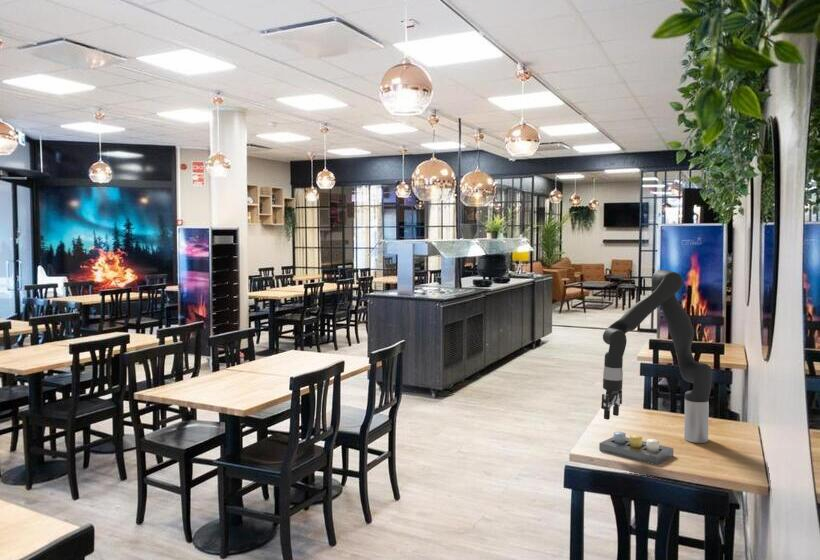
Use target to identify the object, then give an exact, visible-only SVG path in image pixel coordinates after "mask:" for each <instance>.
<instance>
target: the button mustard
mask: <svg viewBox="0 0 820 560" xmlns="http://www.w3.org/2000/svg"><path fill="white" fill-rule="evenodd" d="M629 438H630V447H633V448H638V449H640V448H642V441H643V437H642V436H641V435H638V434H637V435H636V434H633V435H630V436H629Z"/></svg>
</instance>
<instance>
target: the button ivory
mask: <svg viewBox="0 0 820 560" xmlns="http://www.w3.org/2000/svg"><path fill="white" fill-rule="evenodd" d="M646 442H647V450H646V451H650V452H654V453H657V452H659V445H660V440H659V439H655V438H654V439H653V438H647V439H646Z"/></svg>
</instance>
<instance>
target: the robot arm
mask: <svg viewBox="0 0 820 560" xmlns="http://www.w3.org/2000/svg"><path fill="white" fill-rule="evenodd" d="M683 281H684V280H683V277H682V275H681V274H680V273H679V272H675V271H671V270H667V269H658V270H656V271H655V272H654V273H653V274H652V276H651V285H652V286H651V287H652V288H653V290H654V291H652V293H651V294H649V295H648V296H647V297H645V298H643V299H641V300H640V301H637V303H635V304H633V305H632V306H631V307H630V308H629V309H627V311H626V312H624V314H623V315H622V316H621V317H620V318H619V319H618V320H616V321H614V322H612V324H610V325H608V326H607V328H606V329H605V330H604V332H603V333H602V340H603V342H604V343H606V344H607V345H608V346H609V348H608V351H607V352H605V354H604V360H603V361H604V364H603V372H602V374H603V375H602V376H603V377H602V388H603V389H604V390H605V393H602V394H601V403H600V404H601V406H600V407H601V409H602V410H603V419H604V420H607V421H609V420H610V418H611V417H610V416H611V408H612V415H613V416H615V417H617V416H619V415H620V407H621V405H622V404H623V381H624V379H623V375H624V371H623V363H624V359H623V357H624V354H625V352H626V346H627V335H626V334H627V333H629V332H633V331H635V330H636V328H638V326H640V324H641V323H642V322H644V320H645V319H646V318H647V317H648V316H649V315H651V313H652V312H654V311H655V310H656V309H658V308H659V307H660V306H661V310H662V313H663V316H664V319H665V322H666V325H667V329H668V332H669V335H670V337H671V341H672V343H673V346H674V351H675V354H676V358H677V363H678V368H679V373H680V376H681V378H682V380H684V381H686V382H687V383H691V384H693V386H692V390H687V391H685V393H684V427H683V428H684V429H683V430H684V435H683V436H684V437H683V439H684V440H685V441H687V442H691V443H693V444H694V443H695V444H704V443H708V442H709V417H710V415H709V413H710V412H709V410H710V407H709V406H710V405H709V399H710V398H709V397H710V396H711V391H712V379H713V375H712V374H713V373H712V367H710V365H709V364H707V363H704V362H700V361H696V360H695V358H694V356H693V351H692V344H693V341H694V337H695V330H694V328H693V324H692V321H691V318H690V316H689V314H688V313H687V311H686V310H685V309H684V308H683V307H684V306H682V305H681V303H680V302H679V299H678V298H677V296H676V294H677V293H678V292H679V291H680V290H681V289H682V287H683V285H684V284H683V283H684V282H683Z"/></svg>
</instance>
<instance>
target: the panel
mask: <svg viewBox="0 0 820 560" xmlns="http://www.w3.org/2000/svg"><path fill="white" fill-rule="evenodd" d="M598 446H599V451H601V452H604V453H608V454H611V455H612V454H613V455H616V456H621V457H625V458H628V457H629V458H628V459H632V458H633V459H632V460H636V459H637V460H636V461H640V460H641V462H644V461H646V462H645V463H647V462H649V463H648V464H651V463H653V465H655V464H656V466H658V465H660V464H661V463H663V462H665V461H666V460H669V459H670V458H672V457H673V456H674V447H669V446H665V445H661V444H659V452H657V453H654V452H650V451H646V450H647V441H644V440H642V448H640V449H638V448H633V447H630V437H628V436H627V437H626V443H625V444H623V445H621V444H617V443H614V436H611V437H609V438H608V439H605V440H603V441H601V442H599V445H598Z"/></svg>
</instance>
